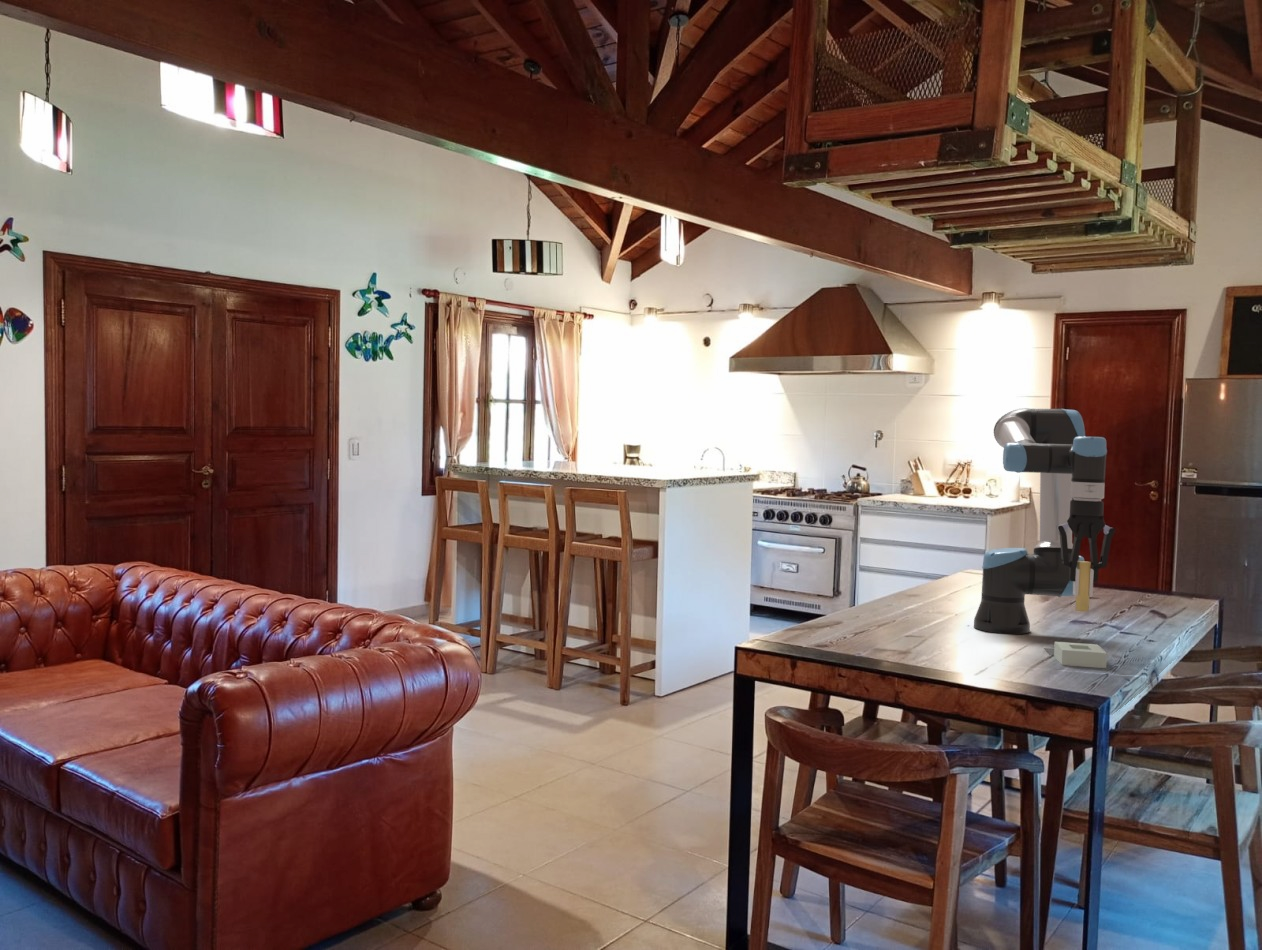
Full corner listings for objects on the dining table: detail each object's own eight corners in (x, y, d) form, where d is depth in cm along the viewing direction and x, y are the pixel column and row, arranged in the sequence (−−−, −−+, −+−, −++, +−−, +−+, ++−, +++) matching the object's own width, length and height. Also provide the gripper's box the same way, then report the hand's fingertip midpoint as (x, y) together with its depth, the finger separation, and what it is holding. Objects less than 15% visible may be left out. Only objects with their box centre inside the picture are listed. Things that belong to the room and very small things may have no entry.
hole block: (1061, 666, 244) (1062, 649, 244) (1053, 657, 254) (1054, 641, 253) (1106, 669, 242) (1107, 653, 241) (1096, 660, 251) (1097, 644, 251)
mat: (1048, 656, 255) (1049, 654, 255) (1043, 649, 263) (1043, 647, 263) (1100, 659, 252) (1100, 658, 252) (1092, 653, 260) (1092, 651, 260)
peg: (1076, 611, 246) (1078, 562, 245) (1074, 609, 249) (1076, 560, 248) (1090, 611, 245) (1091, 562, 245) (1087, 609, 248) (1089, 561, 248)
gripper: (1056, 499, 244) (1051, 595, 245) (1125, 501, 241) (1120, 599, 242) (1050, 497, 251) (1046, 591, 252) (1117, 500, 248) (1113, 595, 249)
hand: (1082, 595), depth 247 cm, fingers closed on peg, 2 cm apart
